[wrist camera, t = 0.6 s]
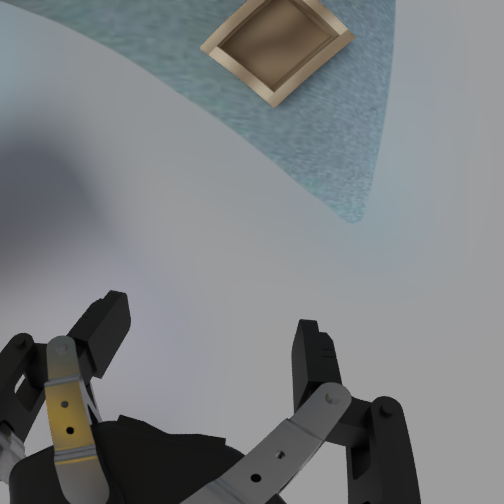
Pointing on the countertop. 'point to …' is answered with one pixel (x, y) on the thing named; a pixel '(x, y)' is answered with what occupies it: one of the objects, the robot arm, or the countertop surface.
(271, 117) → the countertop surface
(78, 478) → the robot arm
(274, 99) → the well block
